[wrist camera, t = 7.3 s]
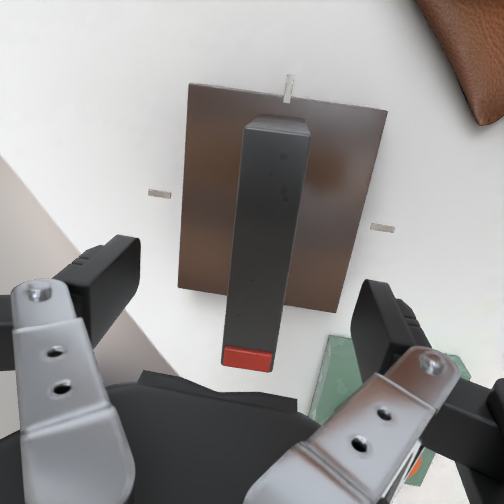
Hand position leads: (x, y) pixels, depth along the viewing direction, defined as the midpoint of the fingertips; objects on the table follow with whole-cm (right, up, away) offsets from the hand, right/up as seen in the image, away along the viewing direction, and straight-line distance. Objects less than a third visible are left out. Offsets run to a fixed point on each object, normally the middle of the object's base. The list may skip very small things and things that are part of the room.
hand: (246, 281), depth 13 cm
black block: (+1, +4, +10) cm, 10 cm away
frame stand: (+2, +5, +12) cm, 13 cm away
